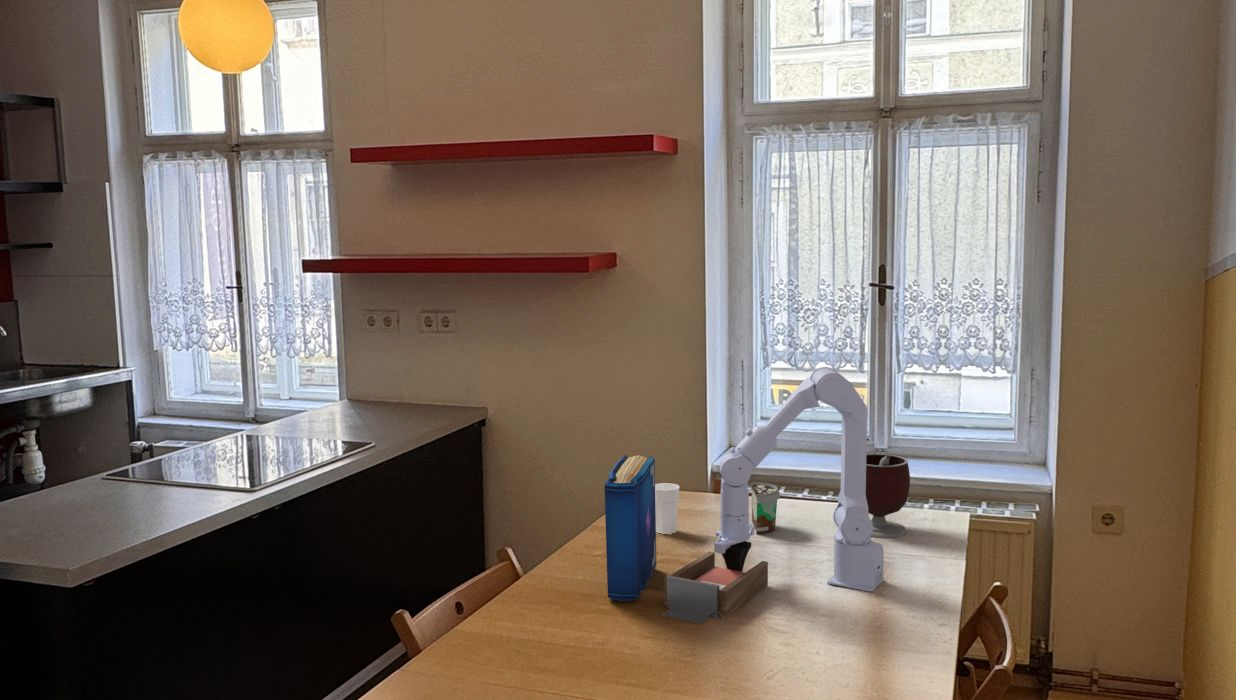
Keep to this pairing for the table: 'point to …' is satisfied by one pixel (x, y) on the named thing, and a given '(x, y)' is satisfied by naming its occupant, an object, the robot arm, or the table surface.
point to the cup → (666, 507)
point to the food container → (764, 507)
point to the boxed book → (720, 576)
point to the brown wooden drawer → (734, 591)
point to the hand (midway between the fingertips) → (735, 577)
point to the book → (630, 527)
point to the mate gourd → (886, 492)
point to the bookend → (692, 599)
